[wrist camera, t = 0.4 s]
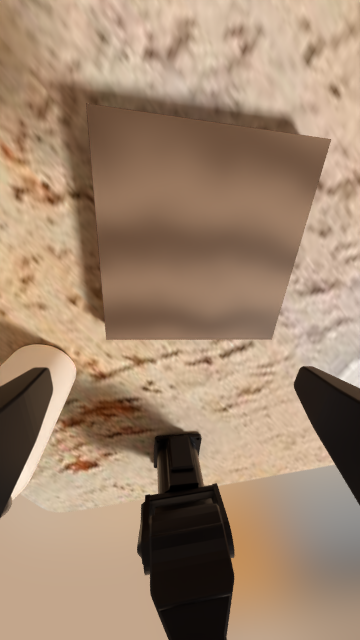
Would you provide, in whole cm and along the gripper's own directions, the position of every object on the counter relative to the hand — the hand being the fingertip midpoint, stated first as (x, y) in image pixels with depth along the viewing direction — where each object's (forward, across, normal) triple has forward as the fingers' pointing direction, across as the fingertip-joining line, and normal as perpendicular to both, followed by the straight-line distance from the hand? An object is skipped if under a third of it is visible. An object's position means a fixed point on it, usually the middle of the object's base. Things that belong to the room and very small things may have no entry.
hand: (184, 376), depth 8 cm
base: (+14, -3, -3) cm, 14 cm away
